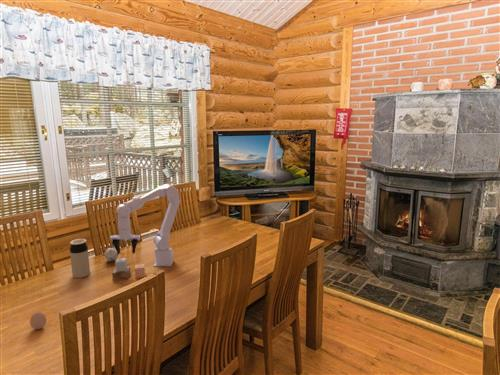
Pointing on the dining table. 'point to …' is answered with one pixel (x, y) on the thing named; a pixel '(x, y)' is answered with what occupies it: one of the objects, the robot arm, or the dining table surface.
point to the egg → (38, 320)
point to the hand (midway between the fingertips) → (126, 253)
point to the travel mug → (79, 258)
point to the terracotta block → (140, 270)
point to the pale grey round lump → (111, 254)
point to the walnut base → (121, 274)
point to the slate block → (121, 264)
